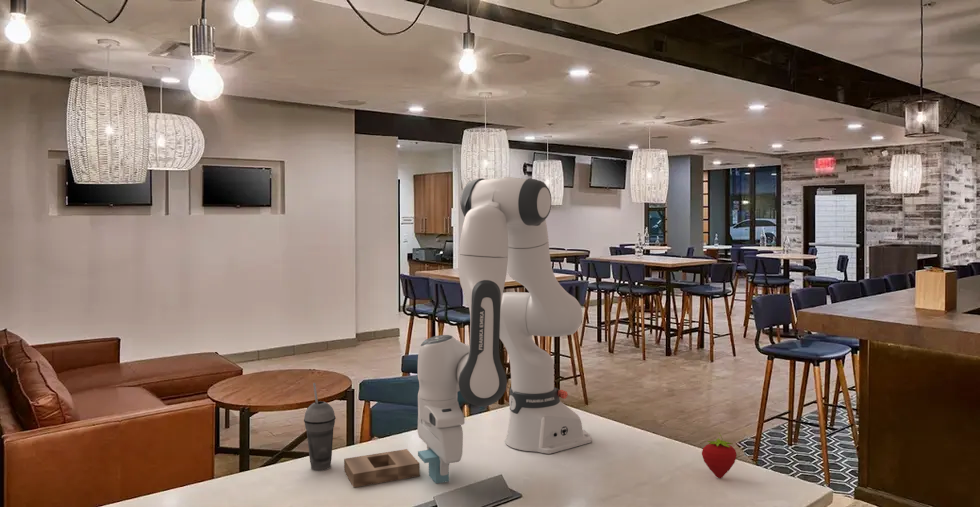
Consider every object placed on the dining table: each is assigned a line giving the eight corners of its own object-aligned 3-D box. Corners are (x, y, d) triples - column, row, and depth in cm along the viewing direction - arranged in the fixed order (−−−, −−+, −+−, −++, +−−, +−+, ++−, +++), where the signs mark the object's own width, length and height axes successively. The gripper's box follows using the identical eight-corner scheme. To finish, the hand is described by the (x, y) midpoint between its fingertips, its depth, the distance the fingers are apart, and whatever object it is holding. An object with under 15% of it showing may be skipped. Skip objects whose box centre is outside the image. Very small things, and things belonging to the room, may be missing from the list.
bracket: (441, 473, 151) (440, 447, 151) (448, 481, 147) (448, 454, 146) (418, 477, 149) (417, 451, 149) (425, 485, 144) (424, 458, 144)
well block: (406, 461, 159) (406, 449, 159) (419, 476, 150) (419, 463, 150) (344, 471, 153) (344, 458, 153) (353, 487, 144) (353, 474, 144)
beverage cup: (328, 474, 151) (326, 388, 150) (299, 471, 153) (297, 386, 152) (341, 462, 158) (340, 380, 157) (313, 460, 160) (311, 378, 159)
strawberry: (697, 472, 150) (698, 429, 150) (730, 472, 151) (730, 429, 150) (706, 483, 144) (707, 438, 144) (740, 482, 145) (741, 437, 144)
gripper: (410, 398, 156) (411, 456, 156) (439, 423, 137) (440, 488, 138) (435, 395, 158) (436, 452, 159) (467, 419, 140) (468, 483, 140)
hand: (438, 469), depth 148 cm, fingers closed on bracket, 5 cm apart
